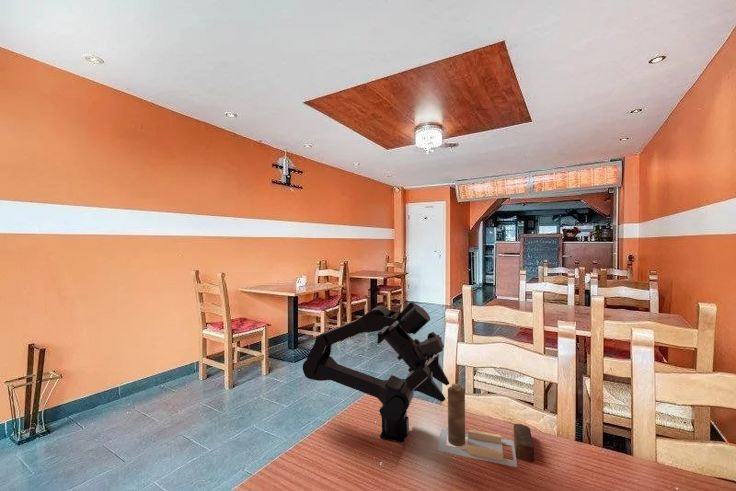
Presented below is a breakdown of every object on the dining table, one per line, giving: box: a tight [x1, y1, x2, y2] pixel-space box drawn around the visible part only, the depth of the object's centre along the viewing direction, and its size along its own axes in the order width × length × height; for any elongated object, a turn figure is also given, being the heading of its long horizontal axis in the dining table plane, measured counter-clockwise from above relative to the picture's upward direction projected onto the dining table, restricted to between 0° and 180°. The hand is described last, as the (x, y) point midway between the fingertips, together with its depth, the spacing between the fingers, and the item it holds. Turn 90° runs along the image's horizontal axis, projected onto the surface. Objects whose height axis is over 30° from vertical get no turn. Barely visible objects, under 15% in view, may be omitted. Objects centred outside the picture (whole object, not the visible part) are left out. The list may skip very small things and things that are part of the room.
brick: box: [512, 423, 535, 462], centre depth 80 cm, size 11×4×5 cm, turn 159°
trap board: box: [436, 427, 518, 468], centre depth 80 cm, size 18×10×3 cm, turn 70°
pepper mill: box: [447, 383, 466, 446], centre depth 82 cm, size 4×4×14 cm
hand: (446, 392), depth 82 cm, fingers open, 9 cm apart
